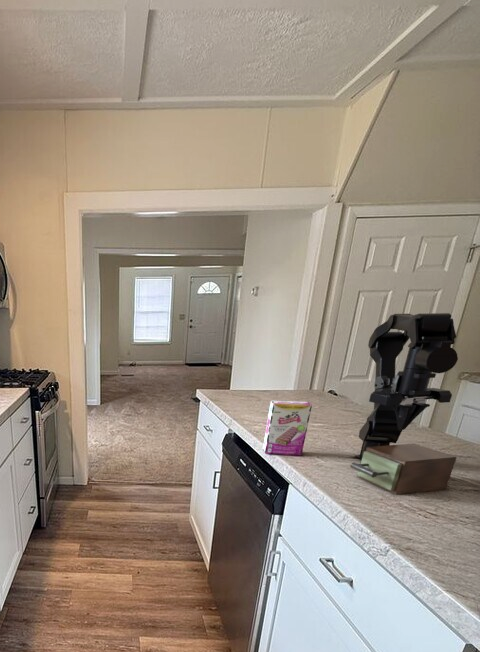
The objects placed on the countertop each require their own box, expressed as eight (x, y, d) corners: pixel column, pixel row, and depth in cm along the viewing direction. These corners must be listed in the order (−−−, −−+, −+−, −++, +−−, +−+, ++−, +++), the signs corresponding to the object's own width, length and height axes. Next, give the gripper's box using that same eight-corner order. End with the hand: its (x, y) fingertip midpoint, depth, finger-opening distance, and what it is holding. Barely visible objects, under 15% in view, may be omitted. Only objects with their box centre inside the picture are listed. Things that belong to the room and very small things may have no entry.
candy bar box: (265, 454, 128) (272, 403, 121) (262, 449, 132) (269, 400, 126) (302, 456, 125) (312, 404, 119) (298, 451, 130) (308, 400, 124)
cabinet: (395, 494, 98) (405, 461, 95) (359, 477, 109) (366, 447, 106) (445, 489, 101) (457, 456, 97) (405, 472, 111) (413, 443, 108)
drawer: (373, 492, 98) (380, 465, 95) (342, 476, 107) (347, 452, 104) (436, 485, 101) (445, 460, 98) (400, 471, 110) (407, 447, 107)
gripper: (420, 363, 108) (404, 420, 113) (359, 365, 105) (346, 424, 110) (462, 368, 97) (442, 430, 103) (396, 371, 94) (379, 435, 100)
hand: (400, 429), depth 105 cm, fingers closed
